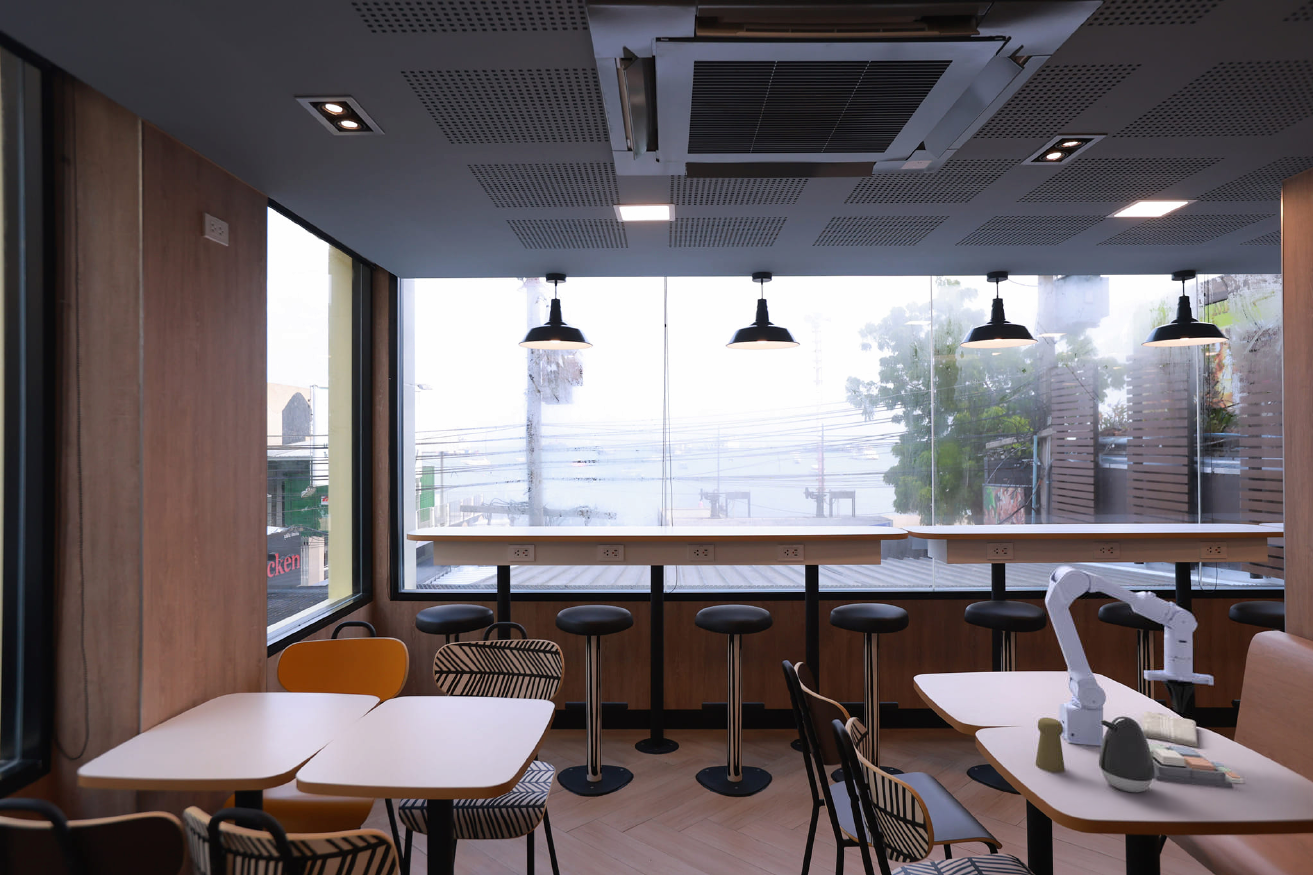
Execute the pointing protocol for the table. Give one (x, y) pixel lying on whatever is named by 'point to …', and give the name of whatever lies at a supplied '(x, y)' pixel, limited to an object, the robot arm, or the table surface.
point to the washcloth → (1170, 729)
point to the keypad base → (1189, 774)
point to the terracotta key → (1199, 763)
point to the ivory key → (1169, 757)
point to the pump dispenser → (1126, 756)
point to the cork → (1050, 746)
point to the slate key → (1184, 751)
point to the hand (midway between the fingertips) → (1178, 710)
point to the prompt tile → (1228, 773)
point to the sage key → (1155, 747)
